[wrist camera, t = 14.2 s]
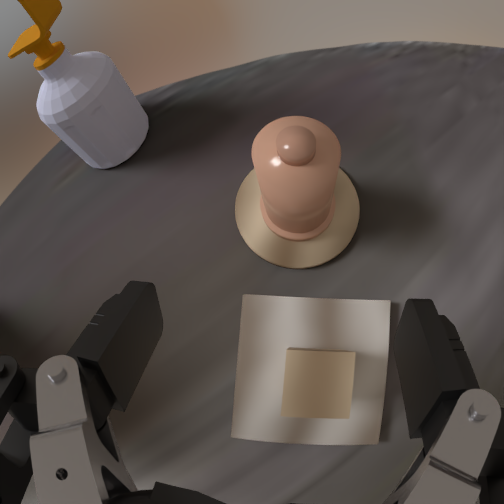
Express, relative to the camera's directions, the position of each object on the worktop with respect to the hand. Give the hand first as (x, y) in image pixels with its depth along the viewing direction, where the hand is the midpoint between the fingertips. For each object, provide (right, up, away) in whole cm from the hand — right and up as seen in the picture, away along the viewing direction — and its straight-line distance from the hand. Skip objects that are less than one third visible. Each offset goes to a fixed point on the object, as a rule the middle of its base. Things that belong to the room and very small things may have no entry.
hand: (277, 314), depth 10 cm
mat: (+3, +6, +19) cm, 20 cm away
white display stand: (+4, -8, +15) cm, 17 cm away
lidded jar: (+3, +6, +18) cm, 19 cm away
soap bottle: (-17, +15, +24) cm, 33 cm away
